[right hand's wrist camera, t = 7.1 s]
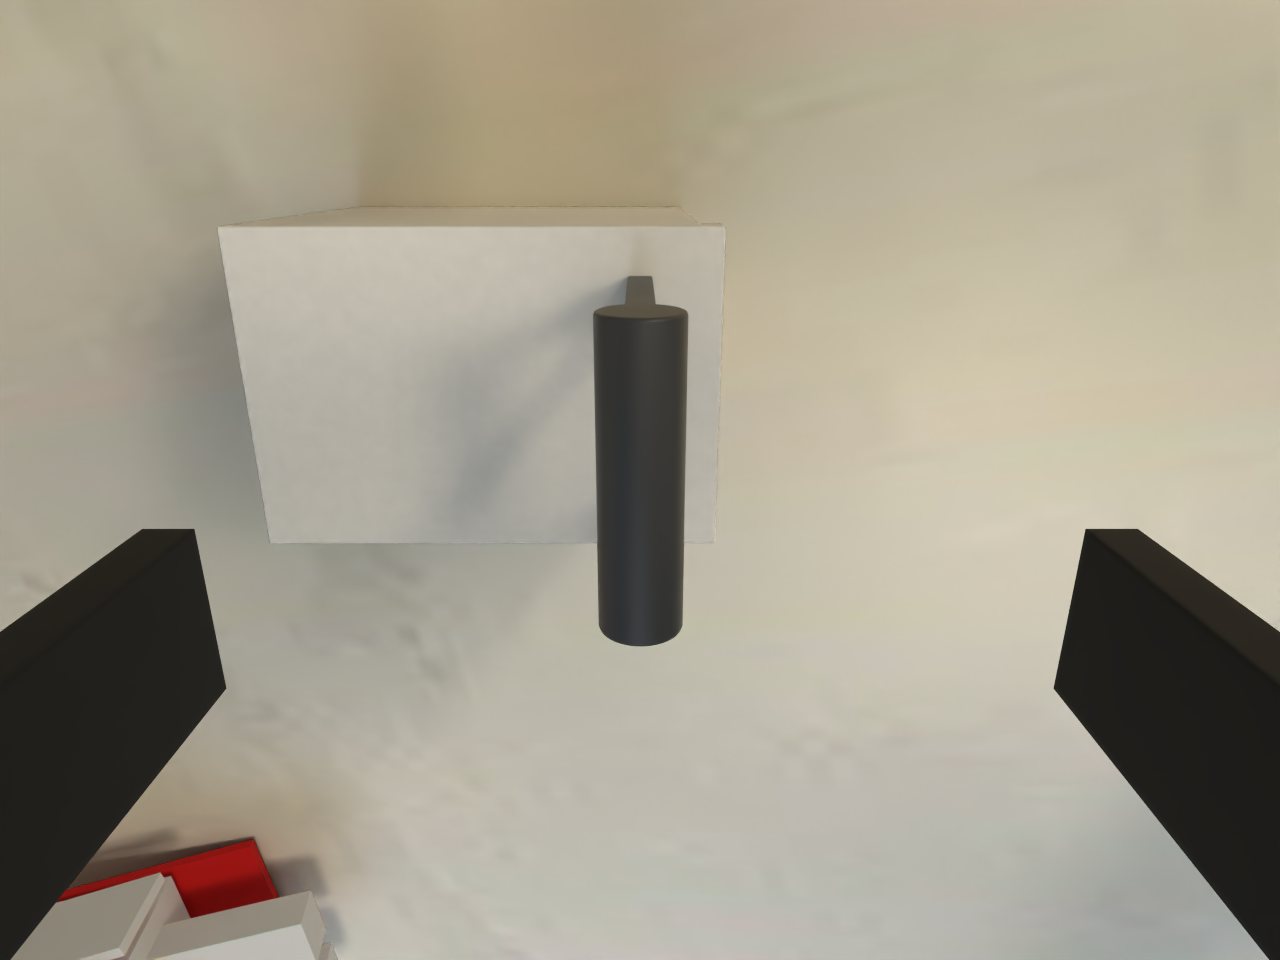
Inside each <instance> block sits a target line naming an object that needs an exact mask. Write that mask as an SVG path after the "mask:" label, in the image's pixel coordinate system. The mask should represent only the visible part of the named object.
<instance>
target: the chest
mask: <svg viewBox="0 0 1280 960" xmlns="http://www.w3.org/2000/svg"><path fill="white" fill-rule="evenodd" d="M245 223H698V222H697V221H696V220H695V219H694V218H693V217H692V216H690V215H689V214H688V213H687V212H686V211H685V210H684V209H683V208H681V207H354V208H346V209H339V210H332V211H324V212H317V213H310V214H303V215H296V216H288V217H281V218H274V219H267V220H259V221H252V222H245Z"/></svg>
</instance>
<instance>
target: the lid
mask: <svg viewBox="0 0 1280 960" xmlns="http://www.w3.org/2000/svg"><path fill="white" fill-rule="evenodd" d="M217 231H218V237H219V243H220V249H221V255H222V261H223V267H224V273H225V279H226V285H227V291H228V297H229V303H230V309H231V315H232V321H233V326H234V332H235V338H236V344H237V350H238V356H239V362H240V368H241V374H242V380H243V386H244V392H245V398H246V404H247V410H248V416H249V422H250V428H251V434H252V440H253V446H254V452H255V458H256V464H257V469H258V475H259V481H260V487H261V493H262V499H263V505H264V511H265V517H266V523H267V529H268V535H269V541H270V543H271V544H312V543H597V552H598V603H599V627H600V629H601V631H602V633H603V634H604V635H605V636H606V637H607V638H609V639H611V640H613V641H615V642H617V643H620V644H624V645H630V646H652V645H657V644H661V643H664V642H667V641H669V640H671V639H672V638H674V637H675V636H676V635H677V634H678V633H679V632H680V630H681V628H682V617H683V567H684V543H715V531H716V502H717V473H718V443H719V414H720V384H721V355H722V326H723V296H724V267H725V238H726V227H725V226H723V225H722V224H720V223H238V224H231V225H223V226H218V227H217Z"/></svg>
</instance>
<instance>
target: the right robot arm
mask: <svg viewBox="0 0 1280 960" xmlns="http://www.w3.org/2000/svg"><path fill="white" fill-rule="evenodd" d="M225 689H226V684H225V680H224V675H223V670H222V665H221V660H220V655H219V650H218V645H217V640H216V635H215V630H214V625H213V620H212V615H211V610H210V605H209V600H208V595H207V590H206V585H205V580H204V575H203V570H202V565H201V560H200V555H199V550H198V545H197V540H196V535H195V530H194V529H142V530H140V531H139V532H137V533H136V534H135V535H133V536H132V537H131V538H129V539H128V540H126V541H125V542H124V543H122V544H121V545H120V546H118V547H117V548H115V549H114V550H113V551H111V552H110V553H109V554H107V555H106V556H104V557H103V558H102V559H100V560H99V561H97V562H96V563H95V564H93V565H92V566H91V567H89V568H88V569H86V570H85V571H84V572H82V573H81V574H80V575H78V576H77V577H75V578H74V579H73V580H71V581H70V582H69V583H67V584H66V585H64V586H63V587H62V588H60V589H59V590H58V591H56V592H55V593H53V594H52V595H51V596H49V597H48V598H46V599H45V600H44V601H42V602H41V603H40V604H38V605H37V606H35V607H34V608H33V609H31V610H30V611H29V612H27V613H26V614H24V615H23V616H22V617H20V618H19V619H18V620H16V621H15V622H13V623H12V624H11V625H9V626H8V627H6V628H5V629H4V630H2V631H1V632H0V960H11V959H12V957H13V956H14V955H15V954H16V952H17V951H18V950H19V949H20V947H21V946H22V945H23V944H24V942H25V941H26V940H27V939H28V937H29V936H30V935H31V934H32V932H33V931H34V930H35V928H36V927H37V926H38V925H39V923H40V922H41V921H42V920H43V918H44V917H45V916H46V915H47V913H48V912H49V911H50V910H51V908H52V907H53V906H54V905H55V903H56V902H57V901H58V900H59V898H60V897H61V896H62V895H63V893H64V892H65V891H66V889H67V888H68V887H69V886H70V884H71V883H72V882H73V881H74V879H75V878H76V877H77V876H78V874H79V873H80V872H81V871H82V869H83V868H84V867H85V866H86V864H87V863H88V862H89V861H90V859H91V858H92V857H93V856H94V854H95V853H96V852H97V850H98V849H99V848H100V847H101V845H102V844H103V843H104V842H105V840H106V839H107V838H108V837H109V835H110V834H111V833H112V832H113V830H114V829H115V828H116V827H117V825H118V824H119V823H120V822H121V820H122V819H123V818H124V817H125V815H126V814H127V813H128V811H129V810H130V809H131V808H132V806H133V805H134V804H135V803H136V801H137V800H138V799H139V798H140V796H141V795H142V794H143V793H144V791H145V790H146V789H147V788H148V786H149V785H150V784H151V783H152V781H153V780H154V779H155V778H156V776H157V775H158V774H159V772H160V771H161V770H162V769H163V767H164V766H165V765H166V764H167V762H168V761H169V760H170V759H171V757H172V756H173V755H174V754H175V752H176V751H177V750H178V749H179V747H180V746H181V745H182V744H183V742H184V741H185V740H186V739H187V737H188V736H189V735H190V734H191V732H192V731H193V730H194V728H195V727H196V726H197V725H198V723H199V722H200V721H201V720H202V718H203V717H204V716H205V715H206V713H207V712H208V711H209V710H210V708H211V707H212V706H213V705H214V703H215V702H216V701H217V700H218V698H219V697H220V696H221V695H222V693H223V692H224V691H225ZM1054 689H1055V691H1056V692H1057V693H1058V695H1059V696H1060V697H1061V698H1062V700H1063V701H1064V702H1065V703H1066V705H1067V706H1068V707H1069V708H1070V710H1071V711H1072V712H1073V713H1074V715H1075V716H1076V717H1077V718H1078V720H1079V721H1080V722H1081V723H1082V725H1083V726H1084V727H1085V728H1086V730H1087V731H1088V732H1089V734H1090V735H1091V736H1092V737H1093V739H1094V740H1095V741H1096V742H1097V744H1098V745H1099V746H1100V747H1101V749H1102V750H1103V751H1104V752H1105V754H1106V755H1107V756H1108V757H1109V759H1110V760H1111V761H1112V762H1113V764H1114V765H1115V766H1116V767H1117V769H1118V770H1119V771H1120V772H1121V774H1122V775H1123V776H1124V778H1125V779H1126V780H1127V781H1128V783H1129V784H1130V785H1131V786H1132V788H1133V789H1134V790H1135V791H1136V793H1137V794H1138V795H1139V796H1140V798H1141V799H1142V800H1143V801H1144V803H1145V804H1146V805H1147V806H1148V808H1149V809H1150V810H1151V811H1152V813H1153V814H1154V815H1155V817H1156V818H1157V819H1158V820H1159V822H1160V823H1161V824H1162V825H1163V827H1164V828H1165V829H1166V830H1167V832H1168V833H1169V834H1170V835H1171V837H1172V838H1173V839H1174V840H1175V842H1176V843H1177V844H1178V845H1179V847H1180V848H1181V849H1182V850H1183V852H1184V853H1185V854H1186V856H1187V857H1188V858H1189V859H1190V861H1191V862H1192V863H1193V864H1194V866H1195V867H1196V868H1197V869H1198V871H1199V872H1200V873H1201V874H1202V876H1203V877H1204V878H1205V879H1206V881H1207V882H1208V883H1209V884H1210V886H1211V887H1212V888H1213V889H1214V891H1215V892H1216V893H1217V895H1218V896H1219V897H1220V898H1221V900H1222V901H1223V902H1224V903H1225V905H1226V906H1227V907H1228V908H1229V910H1230V911H1231V912H1232V913H1233V915H1234V916H1235V917H1236V918H1237V920H1238V921H1239V922H1240V923H1241V925H1242V926H1243V927H1244V928H1245V930H1246V931H1247V932H1248V934H1249V935H1250V936H1251V937H1252V939H1253V940H1254V941H1255V942H1256V944H1257V945H1258V946H1259V947H1260V949H1261V950H1262V951H1263V952H1264V954H1265V955H1266V956H1267V957H1268V959H1269V960H1280V632H1279V631H1278V630H1276V629H1275V628H1274V627H1272V626H1271V625H1269V624H1268V623H1267V622H1265V621H1264V620H1262V619H1261V618H1260V617H1258V616H1257V615H1256V614H1254V613H1253V612H1251V611H1250V610H1249V609H1247V608H1246V607H1245V606H1243V605H1242V604H1240V603H1239V602H1238V601H1236V600H1235V599H1234V598H1232V597H1231V596H1229V595H1228V594H1227V593H1225V592H1224V591H1222V590H1221V589H1220V588H1218V587H1217V586H1216V585H1214V584H1213V583H1211V582H1210V581H1209V580H1207V579H1206V578H1205V577H1203V576H1202V575H1200V574H1199V573H1198V572H1196V571H1195V570H1194V569H1192V568H1191V567H1189V566H1188V565H1187V564H1185V563H1184V562H1183V561H1181V560H1180V559H1178V558H1177V557H1176V556H1174V555H1173V554H1171V553H1170V552H1169V551H1167V550H1166V549H1165V548H1163V547H1162V546H1160V545H1159V544H1158V543H1156V542H1155V541H1154V540H1152V539H1151V538H1149V537H1148V536H1147V535H1145V534H1144V533H1143V532H1141V531H1140V530H1138V529H1086V530H1085V535H1084V540H1083V545H1082V550H1081V555H1080V560H1079V565H1078V570H1077V575H1076V580H1075V585H1074V590H1073V595H1072V600H1071V605H1070V610H1069V615H1068V620H1067V625H1066V630H1065V635H1064V640H1063V645H1062V650H1061V655H1060V660H1059V665H1058V670H1057V675H1056V679H1055V684H1054Z"/></svg>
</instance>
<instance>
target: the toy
mask: <svg viewBox="0 0 1280 960" xmlns="http://www.w3.org/2000/svg"><path fill="white" fill-rule="evenodd" d="M325 931H326V927H325V925H324V922H323V919H322V917H321V914H320V912H319V909H318V907H317V904H316V902H315V899H314V896H313V894H312V891H311V890H309V891H305V892H301V893H296V894H292V895H288V896H284V897H279V896H278V894H277V892H276V889H275V887H274V885H273V882H272V880H271V878H270V876H269V873H268V871H267V869H266V867H265V864H264V862H263V860H262V858H261V855H260V853H259V851H258V849H257V846H256V844H255V842H254V840H253V839H252V840H248V841H245V842H241V843H237V844H234V845H230V846H226V847H223V848H219V849H215V850H212V851H208V852H204V853H201V854H197V855H193V856H189V857H186V858H182V859H178V860H175V861H171V862H167V863H164V864H160V865H156V866H153V867H149V868H145V869H142V870H138V871H134V872H130V873H127V874H123V875H119V876H116V877H112V878H108V879H105V880H101V881H97V882H94V883H90V884H86V885H83V886H79V887H75V888H71V889H68V890H66V891H65V892H64V893H63V895H62V896H61V897H60V898H59V900H58V901H57V902H56V903H55V905H54V906H53V907H52V908H51V910H50V911H49V912H48V913H47V915H46V916H45V917H44V918H43V920H42V921H41V922H40V923H39V925H38V926H37V927H36V928H35V930H34V931H33V932H32V934H31V935H30V936H29V937H28V939H27V940H26V941H25V942H24V944H23V945H22V946H21V947H20V949H19V950H18V951H17V952H16V954H15V955H14V956H13V957H12V959H11V960H338V958H337V955H336V953H335V950H334V948H333V945H332V943H327V944H323V945H322V943H323V939H324V935H325Z"/></svg>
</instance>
